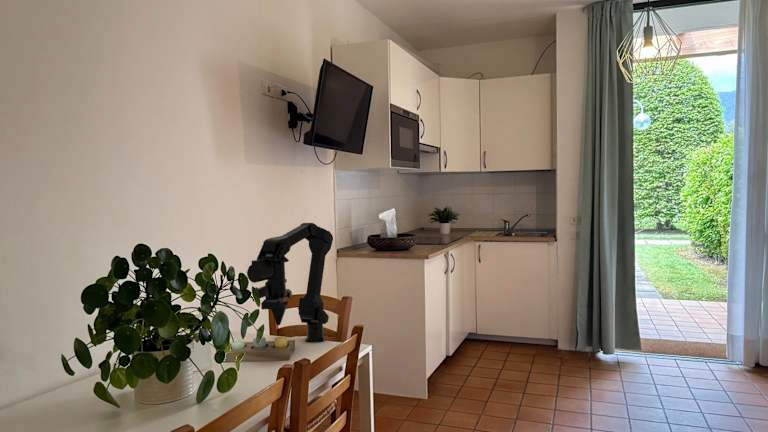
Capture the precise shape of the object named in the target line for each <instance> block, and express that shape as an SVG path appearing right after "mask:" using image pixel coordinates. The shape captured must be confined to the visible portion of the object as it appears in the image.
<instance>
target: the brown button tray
mask: <svg viewBox="0 0 768 432" xmlns="http://www.w3.org/2000/svg"><path fill="white" fill-rule="evenodd" d="M230 344H231V351H230V352H229V353H227V354H226V359H225V362H224V363H236V362H235V360H236V356H237V355H239V354H241V353H242V352H245V355H244V357H243V359H242V360H241V361H249V362H271V361H272V362H273V361H290V360H291V358H292V356H293V355H294V352H295V350H296V341H295V339H294V340H293V339H292V340H290V339H289V340H288V339H287V348H275V340H266V348H262V349H253V341H244V346H245V348H244V349H232V342H231V343H230Z"/></svg>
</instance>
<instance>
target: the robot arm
mask: <svg viewBox="0 0 768 432" xmlns="http://www.w3.org/2000/svg"><path fill="white" fill-rule="evenodd" d="M304 239H305V240H306V241H308V248H309V251H310V252H311V258H310V264H309V272H308V278H307V286H306V293H305V294H304V295H303V297H300V298H299V301H298V307H297V309H298V315H299V319H300V321H301V323H302V324H303V323H304V324H305V323H306V335H307V336H306V338H305V340H304V342H305V343H306V342H307V343H310V342H313V343H315V342H324V341H325V338H326V335H324V325H326V324H327V323H328V322H329V319H330V315H328V313H327V312H326V311H325V309H324V301H323V299H322V296H321V292H322V286H323V285H322V284H323V277H324V271H325V261H326V257H327V254H328V253H329V252H330V250H331V248H332V245H333V241H334V236H333V233H331V231H330V230H327V229H325V228H323V227H321V226H318V225H317V224H315V223H314V222H303V223H301V224H299V225H298V226H297V227H295V228H293V229H291V230H290V231H288V232H286V233H284V234H282V235H280V236H272V237H270V238H266V239H265V240H264V241H263V242H262V243H263V244H262V245H261V248H260V251H259V253H258V255H257V257H256V259H254V260H251V264H250V265H249V266H248V268H247V270H246V276H247V278H248V280H249V281H250V282H251V283H253V284H255V283H259V282H263V281H266V282H265V283H264V285H263V286H261V287H257V286H256V287H254V288H255V289H256V291H257V293H258V296H259V298H260V299H263V298H264V297H265V299H263V301H262V302H261V303H260V304H261V305H260V306H261V307H260V308H261V310H270V311H271V313H272V316H273V318H274V322H275V324H276V326H280V325H281V324H282V321H283V318H284V315H285V313H286V309H287V307H288V304H289V301H287V300H285V299H284V298H288V299H291V298H293V292H292V290H291V289H290V288H286V286H287V285H286V283H288V282H287V281H288V280H287V278H286V268H285V267H286V265H285V263H288V262H289V261H290V260H289V259H288V257H286V255H287V254H288V253H289V252H290V251H291V247H293V246H294V245H295V244H297V243H299V242H300V241H303V240H304ZM249 298H250V299H251V300H252V301H253V302H255V301H254V299H253V297H252V296H251V297H250V296H249Z"/></svg>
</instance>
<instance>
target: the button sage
mask: <svg viewBox="0 0 768 432" xmlns="http://www.w3.org/2000/svg"><path fill="white" fill-rule="evenodd" d="M244 342H245V340H235V341H232V342H231V343H232V349H244V348H245V346H244Z"/></svg>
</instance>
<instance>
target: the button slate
mask: <svg viewBox="0 0 768 432" xmlns="http://www.w3.org/2000/svg"><path fill="white" fill-rule="evenodd" d="M256 338H257V337H255V338H253V339H252V342H253V349H262V348H266V341H267V340H266V337H262V340H261V342H260V344H259V345H258V346H257V345H256Z"/></svg>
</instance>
